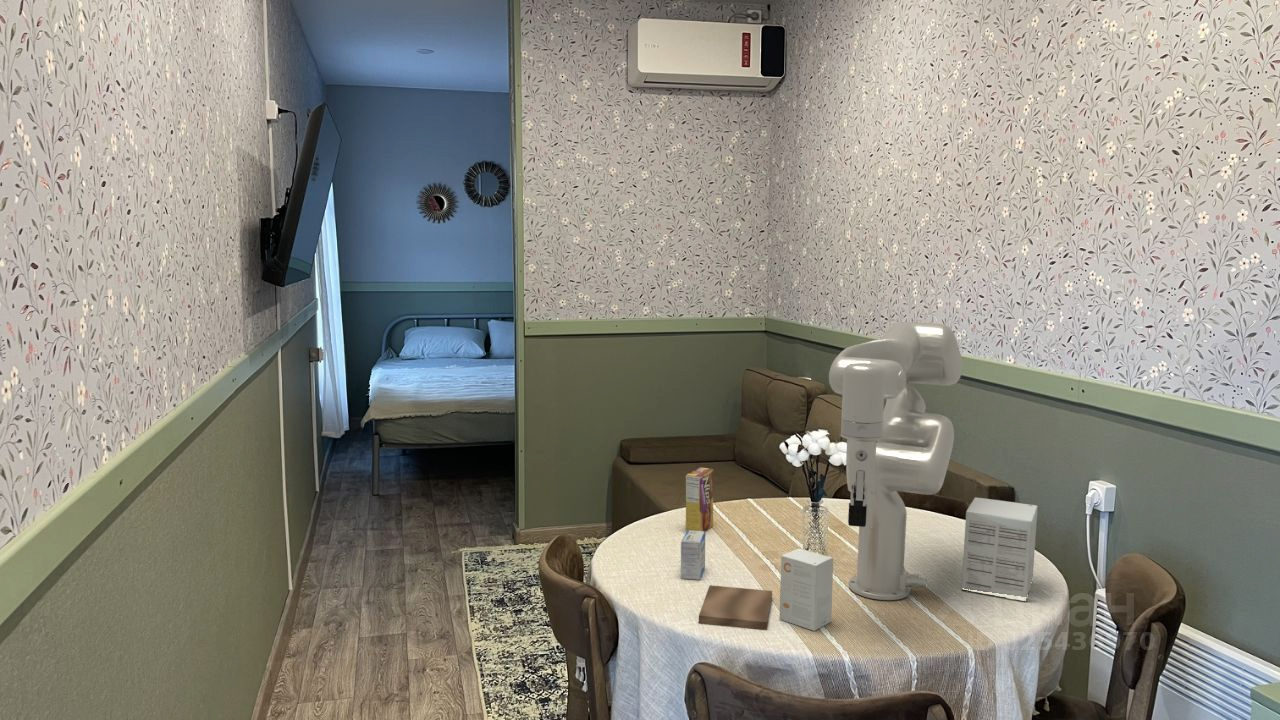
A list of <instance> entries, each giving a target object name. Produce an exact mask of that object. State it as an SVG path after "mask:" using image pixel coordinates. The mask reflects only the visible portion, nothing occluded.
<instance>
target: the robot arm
mask: <svg viewBox="0 0 1280 720" xmlns="http://www.w3.org/2000/svg"><path fill="white" fill-rule="evenodd" d="M958 343H959V342H958V341H957V337H956V336H955V333H954V331H953V330H952V328H950V327H949V326H948V325H946V324H943V323H934V322H933V323H931V322H917V321H916V322H913V321H905V322H898V323H895V324H893V325H892V326H891V327H889V328H888V330H886V332H885V333H884V334H883V335H882V336H881V337H880V338H879V339H875V340H871V341H867V342H863V343H858V344H855V345H851V346H848V347H846V348H844V349H843V350H842V351H840V353H839V354H838V355H837V356H836V357H835V358H834V359H833V362H832V363H831V365H830V367H829V372H828V383H829V386H830V388H831V389H832V391H833V392H835V394H838V395H840V396H841V395H842V400H841V419H840V420H841V421H840V422H841V423H840V437H841V438H844V439H846V456H845V457H846V460H845V461H846V462H845V463H846V464H845V465H846V466H845V467H846V471H845V473H846V484H847V490H848V491H849V492H850V501H849V503H848V517H847V524H848V526H849V527H858V545H857V565H856V567H857V568H856V575H855V576H852V577H850V578H849V581H848V586H849V588H850V590H851V591H852V592H853V593H855V594H857V595H859V596H861V597H864V598H868V599H872V600H879V601H896V600H901V599H904V598H907V597H908V596H910V595H911V586H913V587H914V586H915V587H920V588H922V587H923V588H927V577H920V574H917V573H908V572H907V571H906V568H905V553H906V551H905V549H906V535H907V534H906V532H907V519H908V517H907V513H908V512H907V507H906V505H905V503H904V500H903V499H902V497H901V496H900V495H899V493H898V492H902V493H903V492H905V493H910V494H911V493H912V494H917V495H918V494H919V495H935V494H937V493H939V492H940V490H941V489H942V487H943V484H944V482H945V478H946V474H947V471H948V467H949V463H950V459H951V455H952V452H953V447H954V442H955V430H954V429H955V428H954V425H953V423H952V421H951V419H949V417H947V416H945V415H942V414H939V413H930V412H926V407H927V406H926V403H925V400H924V399H923V397H922V395H921V394H920V393H919V392H918V390H917V389H916V388H915V387H914V386H913V385H911V384H921V385H922V384H923V385H934V386H952V385H955V384H956V383H958V382H959V381H960V379H961V376H962V372H963V360H962V359H963V358H962V353H961V351H960V347H959V344H958ZM885 401H886V403H884V402H885ZM884 404H885V406H884Z"/></svg>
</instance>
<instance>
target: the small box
mask: <svg viewBox="0 0 1280 720" xmlns="http://www.w3.org/2000/svg"><path fill="white" fill-rule="evenodd" d="M780 557H781V560H780V564H781V565H780V588H779V589H780V590H779V620H780V621H784V622H788V623H790V624H793V625H796V626H798V627H802V628H805V629H808V630H810V631H812V632H815V631H816V630H818V629H821V628H822V627H824V626H826V625H828V624H829V623H831V622H832V611H833V610H832V609H833V607H832V606H833V582H834V581H833V578H834V576H833V575H834V557H832V556H828V555H825V554H821V553H819V552H818V553H817V552H814V551H810V550H807V549H803V548H796V549H794V550H792V551H789V552H786V553H783V554H782V555H781V556H780Z"/></svg>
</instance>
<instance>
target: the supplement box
mask: <svg viewBox="0 0 1280 720" xmlns="http://www.w3.org/2000/svg"><path fill="white" fill-rule="evenodd" d="M1037 520H1038V505H1036V504H1028V503H1020V502H1014V501H1006V500H1000V499H990V498H985V497H984V498H983V497H976V496H975V497H974V498H973V499H972V502H971V503H970V504H969V506H968V508H967V510H966V511H965V527H964V540H963V541H964V545H963V563H962V577H961V588H964V589H968V590H969V589H970V590H977V591H983V592H992V593H999V594H1007V595H1014V596H1021V597H1027V595H1028V592H1029V589H1030V590H1031V588H1030V586H1031V587H1032V585H1031V582H1032V583H1033V580H1032V578H1033V577H1034V566H1035V565H1034V562H1035V550H1036V549H1035V548H1036V535H1037ZM1033 579H1034V578H1033ZM1029 593H1030V592H1029ZM1028 596H1029V595H1028Z"/></svg>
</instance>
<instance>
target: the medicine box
mask: <svg viewBox="0 0 1280 720" xmlns="http://www.w3.org/2000/svg"><path fill="white" fill-rule="evenodd" d="M705 567H706V531H705V532H704V531H692V530H690V531H687V532H686V531H685V534H684V536H683V537H682V540H681V542H680V579H684V580H695V581H696V580H697V581H701V580H702V576H703V573H704V571H705Z"/></svg>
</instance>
